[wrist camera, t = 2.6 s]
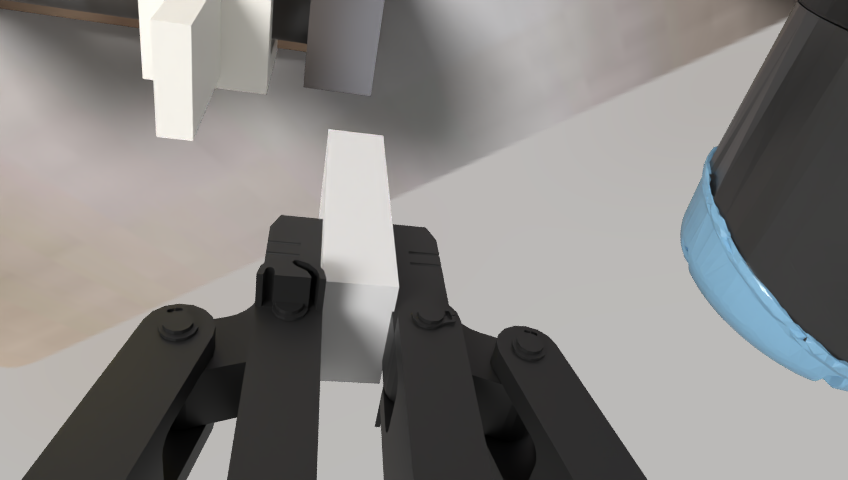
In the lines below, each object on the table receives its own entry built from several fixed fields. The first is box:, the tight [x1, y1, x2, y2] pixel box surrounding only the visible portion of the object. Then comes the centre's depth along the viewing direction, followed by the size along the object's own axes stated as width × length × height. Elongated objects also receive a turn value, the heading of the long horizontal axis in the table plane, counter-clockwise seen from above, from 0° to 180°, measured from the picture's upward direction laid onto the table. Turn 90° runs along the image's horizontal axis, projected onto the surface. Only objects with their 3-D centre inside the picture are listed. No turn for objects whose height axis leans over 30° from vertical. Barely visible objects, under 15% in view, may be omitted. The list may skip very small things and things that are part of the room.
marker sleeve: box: [138, 0, 278, 141], centre depth 26 cm, size 5×5×11 cm
